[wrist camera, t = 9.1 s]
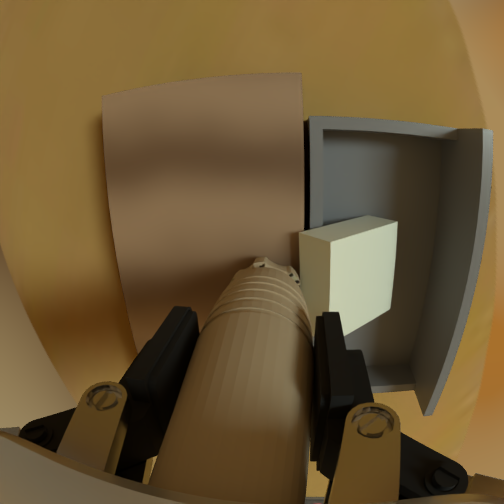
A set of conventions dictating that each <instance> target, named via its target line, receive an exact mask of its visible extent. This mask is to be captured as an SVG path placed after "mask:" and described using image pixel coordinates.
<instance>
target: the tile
mask: <svg viewBox="0 0 504 504" xmlns="http://www.w3.org/2000/svg"><path fill="white" fill-rule="evenodd" d="M397 226H398V222H397V221H393V220H388V219H384V218H379V217H375V216H370V215H366V216H362V217H358V218H354V219H350V220H346V221H342V222H338V223H334V224H330V225H326V226H323V227H319V228H315V229H311V230H307V231H303V232H299V258H300V289H301V292H302V294H303V296H304V299H305V302H306V305H307V309H308V313H309V318H310V324H311V329H312V336H313V337H314V335H315V322H316V316H322V312H339V314H340V319H341V324H342V329H343V334H344V336H345V335H347V334H349V333H351V332H352V331H354V330H356V329H358V328H359V327H361V326H363V325H364V324H366V323H368V322H369V321H371V320H373V319H374V318H376V317H378V316H379V315H381V314H383V313H384V312H386V311H388V310H389V309H390V306H391V298H392V289H393V280H394V270H395V258H396V244H397Z"/></svg>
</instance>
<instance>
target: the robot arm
mask: <svg viewBox="0 0 504 504" xmlns="http://www.w3.org/2000/svg"><path fill="white" fill-rule="evenodd" d="M199 335H200V333H199V325H198V317H197V313H196V311H192V309H191V307H185V306H174V307H173V308H172V310H171V311H170V313H169V314H168V316H167V317H166V318H165V320H164V321H163V323H162V324H161V326H160V327H159V328H158V330H157V331H156V333H155V334H154V336H153V337H152V339H150V340H148V341H147V342H146V344H145V345H144V347H143V348H142V350H141V351H140V352H139V354H138V355H137V357H136V358H135V360H134V361H133V363H132V364H131V365H130V367H129V368H128V370H127V371H126V373H125V374H124V376H123V377H122V379H121V380H120V382H119V383H116V382H111V381H107V382H100V383H96V384H94V385H92V386H90V387H89V388H88V389H87V390H86V391H85V392H84V394H83V395H82V397H81V399H80V401H79V403H78V405H77V407H76V408H73V409H70V410H67V411H64V412H60V413H57V414H53V415H50V416H47V417H43V418H40V419H36V420H33V421H31V422H29V423H28V424H26V425H25V426H24V427H23V428H22V429H20V428H19V427H12V428H0V504H255V503H244V502H235V501H227V500H220V499H213V498H207V497H201V496H196V495H190V494H185V493H180V492H175V491H171V490H166V489H162V488H158V487H154V486H150V485H148V482H149V479H150V474H151V468H152V463H153V457H154V456H157V455H158V453H159V450H160V448H161V445H162V442H163V439H164V436H165V433H166V431H167V428H168V425H169V422H170V419H171V416H172V414H173V411H174V408H175V405H176V402H177V399H178V395H179V392H180V389H181V386H182V383H183V380H184V377H185V375H186V372H187V369H188V366H189V363H190V360H191V357H192V354H193V351H194V348H195V345H196V342H197V339H198V337H199ZM313 349H314V385H313V404H312V420H311V434H310V461H317V471H320V473H322V474H323V475H324V476H325V477H327V478H328V479H329V481H328V485H327V490H326V494H325V498H324V502H323V504H504V480H501V479H497V478H493V477H489V476H485V475H481V474H477V473H476V474H475V475H474V476H470V475H467V472H466V470H465V469H464V468H463V467H462V466H461V465H460V464H458V463H457V462H455V461H453V460H451V459H449V458H448V457H446V456H444V455H442V454H440V453H438V452H436V451H434V450H432V449H430V448H429V447H427V446H425V445H423V444H421V443H419V442H418V441H416V440H414V439H412V438H410V437H408V436H407V435H405V434H403V433H401V432H400V420H399V416H398V415H397V414H396V412H395V411H394V410H393V409H391V408H390V407H388V406H386V405H384V404H380V403H374V399H373V394H372V390H371V385H370V381H369V377H368V372H367V368H366V364H365V360H364V356H363V352H362V350H361V349H356V350H346V345H345V339H344V334H343V329H342V324H341V319H340V314H339V312H322V316H316V322H315V335H314V347H313Z"/></svg>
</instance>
